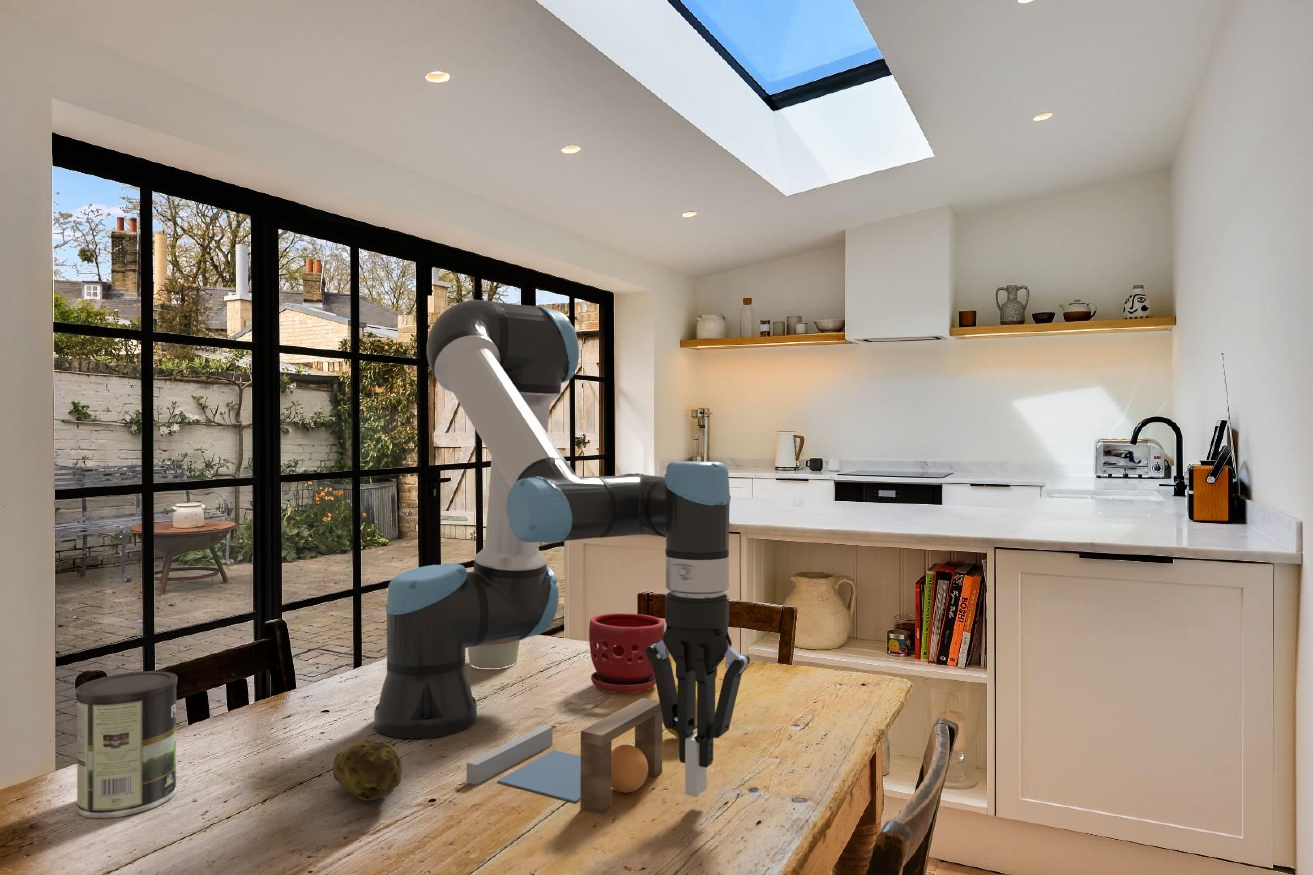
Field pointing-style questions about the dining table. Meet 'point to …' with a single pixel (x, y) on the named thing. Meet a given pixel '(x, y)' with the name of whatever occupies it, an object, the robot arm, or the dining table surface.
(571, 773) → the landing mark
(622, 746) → the ball
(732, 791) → the dining table surface
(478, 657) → the reusable coffee cup
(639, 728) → the bridge
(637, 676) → the plant pot
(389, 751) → the potato
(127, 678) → the coffee can
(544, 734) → the stopper
